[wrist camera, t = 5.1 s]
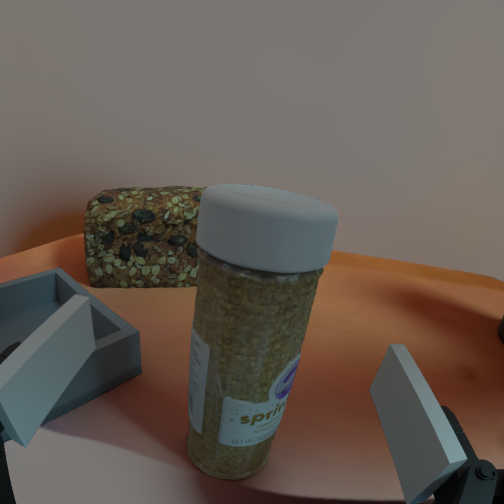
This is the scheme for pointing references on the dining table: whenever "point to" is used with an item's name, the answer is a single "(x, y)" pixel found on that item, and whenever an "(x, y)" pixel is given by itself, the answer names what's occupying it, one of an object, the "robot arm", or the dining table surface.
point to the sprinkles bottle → (250, 318)
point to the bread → (143, 237)
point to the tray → (104, 327)
